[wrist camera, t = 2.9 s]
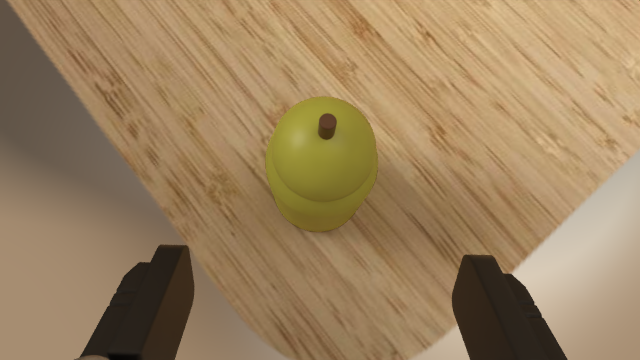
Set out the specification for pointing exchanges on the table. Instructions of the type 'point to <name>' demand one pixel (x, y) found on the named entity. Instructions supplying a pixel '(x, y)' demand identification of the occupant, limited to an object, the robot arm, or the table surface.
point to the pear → (321, 163)
